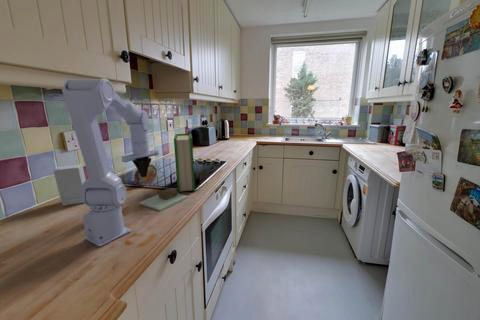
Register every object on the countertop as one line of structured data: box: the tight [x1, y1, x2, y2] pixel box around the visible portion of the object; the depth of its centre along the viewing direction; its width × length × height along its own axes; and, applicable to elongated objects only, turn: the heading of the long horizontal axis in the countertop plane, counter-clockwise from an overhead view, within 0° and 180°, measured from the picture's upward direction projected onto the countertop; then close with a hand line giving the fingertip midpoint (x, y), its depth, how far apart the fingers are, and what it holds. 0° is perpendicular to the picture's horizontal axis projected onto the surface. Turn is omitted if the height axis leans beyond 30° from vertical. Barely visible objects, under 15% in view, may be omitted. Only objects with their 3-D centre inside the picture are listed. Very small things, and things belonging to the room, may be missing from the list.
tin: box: [133, 164, 157, 187], centre depth 114 cm, size 15×3×8 cm, turn 168°
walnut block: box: [158, 187, 178, 200], centre depth 94 cm, size 2×4×6 cm
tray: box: [139, 192, 189, 212], centre depth 92 cm, size 14×12×1 cm
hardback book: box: [173, 133, 196, 194], centre depth 106 cm, size 18×7×24 cm, turn 13°
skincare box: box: [53, 163, 87, 207], centre depth 90 cm, size 8×6×15 cm
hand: (143, 176), depth 90 cm, fingers closed
